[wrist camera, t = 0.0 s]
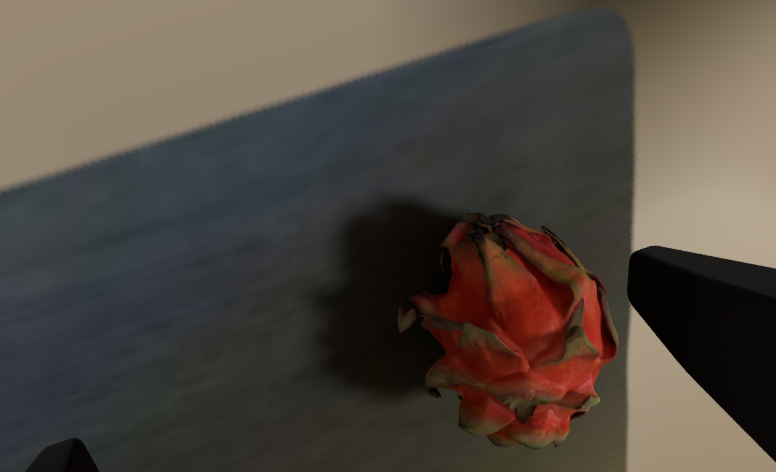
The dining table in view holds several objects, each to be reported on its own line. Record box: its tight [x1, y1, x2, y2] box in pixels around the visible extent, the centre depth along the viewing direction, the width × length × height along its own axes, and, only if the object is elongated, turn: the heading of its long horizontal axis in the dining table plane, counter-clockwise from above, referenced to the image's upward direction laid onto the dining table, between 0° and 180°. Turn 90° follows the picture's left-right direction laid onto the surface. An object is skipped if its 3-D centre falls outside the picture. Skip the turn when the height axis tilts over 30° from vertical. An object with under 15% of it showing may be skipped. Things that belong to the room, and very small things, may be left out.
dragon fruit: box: [397, 213, 619, 449], centre depth 25 cm, size 8×8×12 cm
